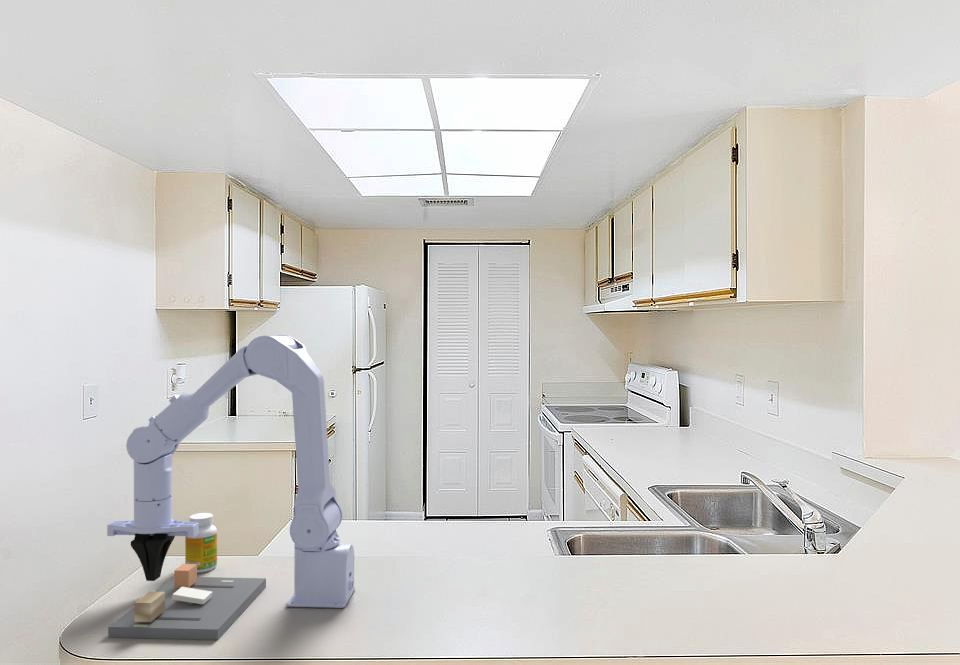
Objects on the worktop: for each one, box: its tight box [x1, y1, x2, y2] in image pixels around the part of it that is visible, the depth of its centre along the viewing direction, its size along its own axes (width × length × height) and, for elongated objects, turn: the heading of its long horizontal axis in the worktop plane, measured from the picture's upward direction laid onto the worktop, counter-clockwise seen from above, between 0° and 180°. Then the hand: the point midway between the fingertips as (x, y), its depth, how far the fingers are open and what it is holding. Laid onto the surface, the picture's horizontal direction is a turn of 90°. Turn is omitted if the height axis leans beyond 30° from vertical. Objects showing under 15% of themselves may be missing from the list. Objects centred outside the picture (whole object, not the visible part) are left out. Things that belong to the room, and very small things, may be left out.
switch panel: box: [107, 576, 267, 641], centre depth 105 cm, size 16×19×2 cm
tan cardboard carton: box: [134, 591, 165, 622], centre depth 98 cm, size 2×4×3 cm, turn 178°
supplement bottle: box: [184, 512, 218, 574], centre depth 122 cm, size 5×5×10 cm
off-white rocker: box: [172, 587, 212, 604], centre depth 104 cm, size 5×3×1 cm, turn 88°
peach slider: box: [173, 563, 198, 588], centre depth 110 cm, size 2×3×3 cm
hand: (153, 578), depth 111 cm, fingers closed
